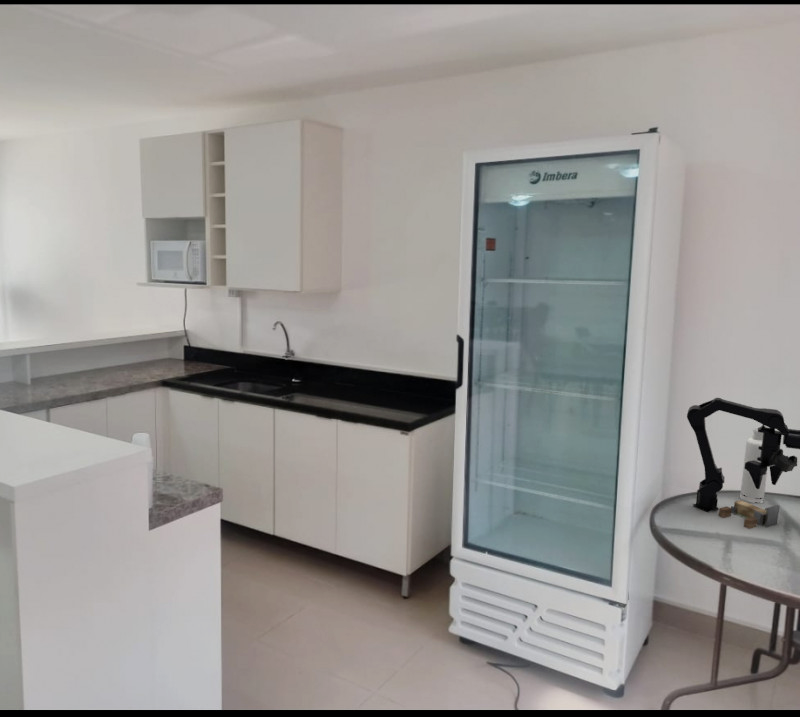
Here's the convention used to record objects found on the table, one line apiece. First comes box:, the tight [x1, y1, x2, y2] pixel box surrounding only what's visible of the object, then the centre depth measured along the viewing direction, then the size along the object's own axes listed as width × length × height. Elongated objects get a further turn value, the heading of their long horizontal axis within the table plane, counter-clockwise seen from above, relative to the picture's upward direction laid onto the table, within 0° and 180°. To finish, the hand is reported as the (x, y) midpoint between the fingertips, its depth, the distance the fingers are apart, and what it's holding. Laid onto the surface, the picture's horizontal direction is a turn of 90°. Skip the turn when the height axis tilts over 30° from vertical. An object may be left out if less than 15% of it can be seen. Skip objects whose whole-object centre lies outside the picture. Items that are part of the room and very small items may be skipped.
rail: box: [733, 499, 766, 523], centre depth 233 cm, size 12×4×4 cm, turn 27°
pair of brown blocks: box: [718, 506, 758, 530], centre depth 230 cm, size 12×4×3 cm, turn 27°
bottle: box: [739, 427, 769, 503], centre depth 248 cm, size 8×8×28 cm
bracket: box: [730, 504, 780, 528], centre depth 233 cm, size 15×7×7 cm, turn 27°
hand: (765, 486), depth 231 cm, fingers open, 9 cm apart
